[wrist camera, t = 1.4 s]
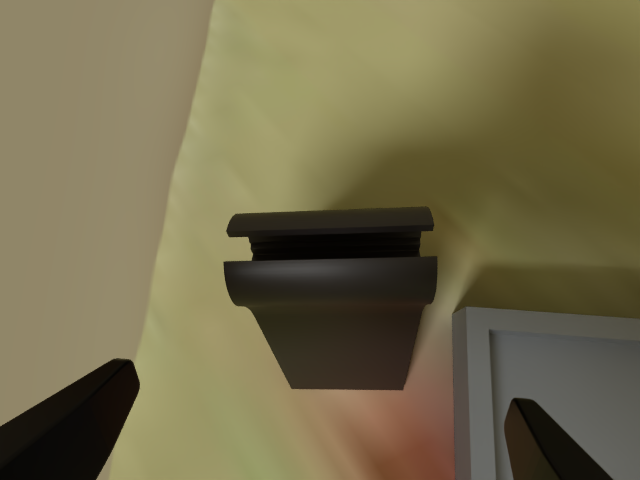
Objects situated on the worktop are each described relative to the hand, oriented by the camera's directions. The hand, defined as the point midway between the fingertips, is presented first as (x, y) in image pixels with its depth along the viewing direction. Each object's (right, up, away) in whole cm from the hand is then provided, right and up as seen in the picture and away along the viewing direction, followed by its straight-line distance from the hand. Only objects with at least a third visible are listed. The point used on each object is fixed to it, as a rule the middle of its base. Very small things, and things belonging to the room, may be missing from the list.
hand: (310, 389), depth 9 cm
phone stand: (+2, 0, +13) cm, 13 cm away
